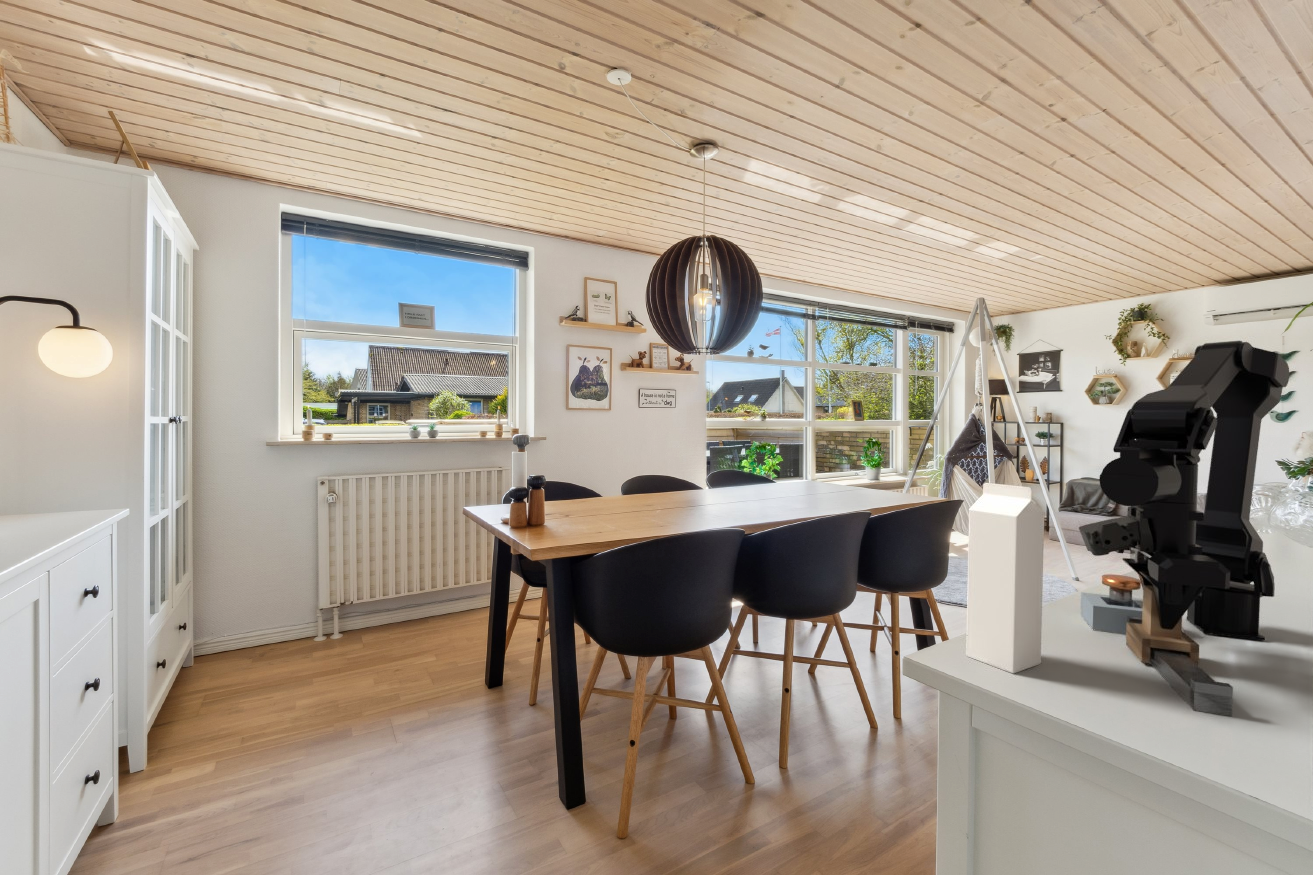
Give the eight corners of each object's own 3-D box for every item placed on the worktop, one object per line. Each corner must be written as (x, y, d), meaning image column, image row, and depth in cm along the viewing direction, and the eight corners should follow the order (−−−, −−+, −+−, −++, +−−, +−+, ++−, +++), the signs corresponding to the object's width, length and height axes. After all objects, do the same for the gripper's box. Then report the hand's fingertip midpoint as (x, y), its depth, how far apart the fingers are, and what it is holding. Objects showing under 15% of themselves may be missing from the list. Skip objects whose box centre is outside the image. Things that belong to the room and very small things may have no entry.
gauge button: (1134, 606, 86) (1135, 576, 86) (1144, 615, 82) (1145, 584, 82) (1097, 602, 88) (1098, 572, 88) (1105, 611, 84) (1106, 580, 84)
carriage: (1178, 651, 75) (1180, 585, 75) (1198, 669, 69) (1201, 599, 69) (1125, 644, 77) (1127, 580, 77) (1141, 662, 72) (1143, 593, 71)
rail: (1153, 640, 80) (1154, 618, 79) (1231, 716, 59) (1232, 687, 59) (1126, 637, 81) (1127, 615, 81) (1193, 710, 61) (1194, 681, 61)
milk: (1013, 674, 69) (1017, 489, 68) (964, 656, 74) (968, 483, 74) (1041, 663, 72) (1046, 485, 71) (993, 646, 77) (996, 480, 76)
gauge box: (1145, 622, 87) (1146, 599, 86) (1163, 638, 80) (1164, 613, 80) (1080, 614, 90) (1081, 592, 90) (1092, 629, 84) (1093, 605, 83)
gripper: (1070, 488, 84) (1067, 595, 85) (1107, 506, 67) (1103, 640, 68) (1168, 492, 80) (1164, 605, 80) (1234, 513, 63) (1229, 656, 63)
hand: (1161, 624), depth 73 cm, fingers closed on carriage, 3 cm apart
